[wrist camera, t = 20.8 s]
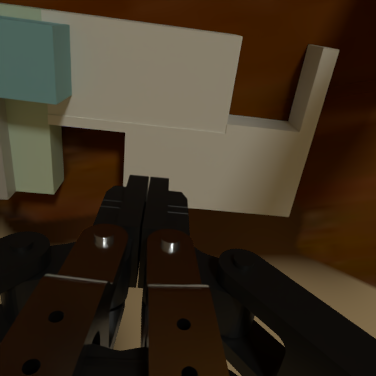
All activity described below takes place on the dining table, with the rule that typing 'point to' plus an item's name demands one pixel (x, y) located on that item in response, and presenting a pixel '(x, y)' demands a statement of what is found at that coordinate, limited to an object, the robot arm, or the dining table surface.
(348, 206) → the dining table surface
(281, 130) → the tray
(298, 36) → the dining table surface
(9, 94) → the block
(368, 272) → the dining table surface
